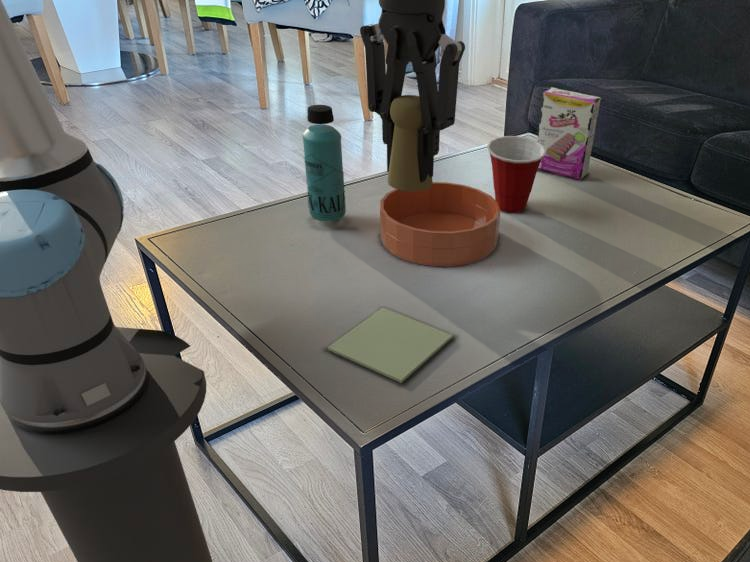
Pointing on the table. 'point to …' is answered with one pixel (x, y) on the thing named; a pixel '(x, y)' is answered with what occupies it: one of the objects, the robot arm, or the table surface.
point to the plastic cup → (514, 170)
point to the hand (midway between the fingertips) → (410, 173)
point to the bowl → (440, 224)
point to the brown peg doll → (406, 145)
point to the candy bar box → (567, 131)
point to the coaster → (390, 344)
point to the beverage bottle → (324, 166)
